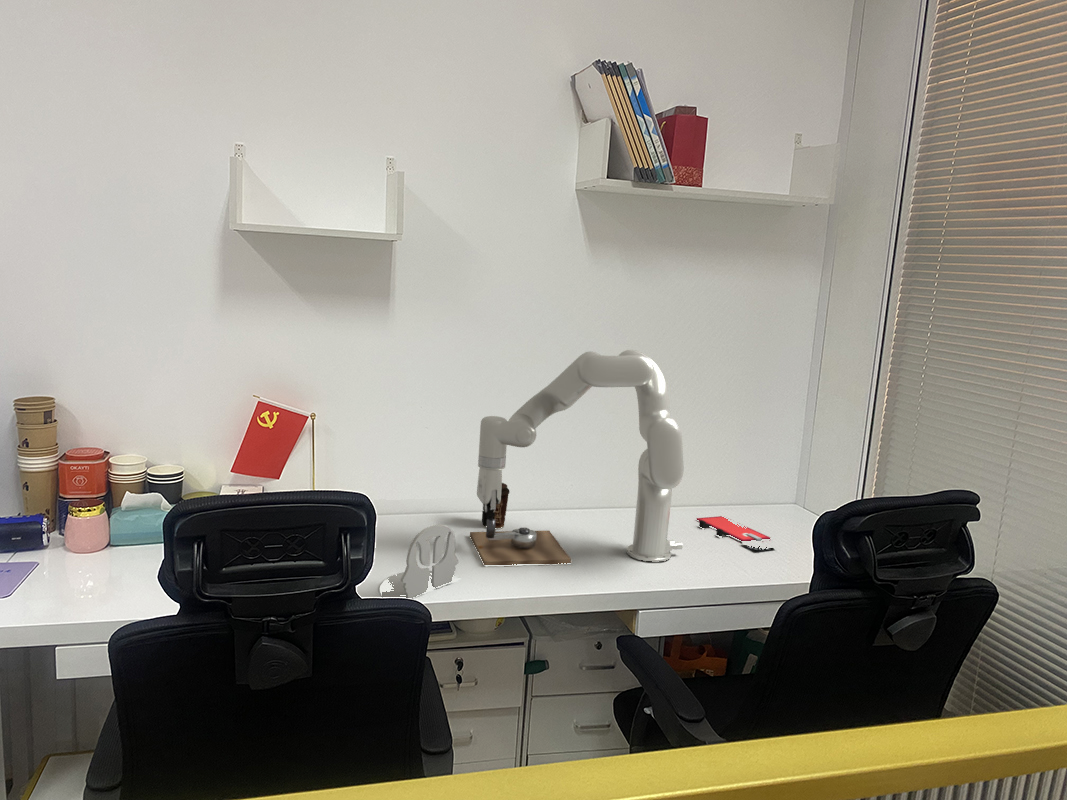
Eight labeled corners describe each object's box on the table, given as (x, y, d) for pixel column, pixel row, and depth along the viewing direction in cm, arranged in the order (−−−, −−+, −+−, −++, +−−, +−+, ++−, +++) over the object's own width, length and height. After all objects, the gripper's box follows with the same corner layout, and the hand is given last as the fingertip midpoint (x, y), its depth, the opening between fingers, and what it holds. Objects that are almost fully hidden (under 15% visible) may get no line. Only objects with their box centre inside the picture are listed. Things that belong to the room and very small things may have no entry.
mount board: (548, 535, 239) (549, 528, 239) (570, 564, 217) (571, 556, 217) (469, 536, 233) (470, 529, 233) (484, 567, 211) (484, 559, 211)
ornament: (396, 605, 185) (399, 537, 182) (359, 588, 193) (361, 522, 190) (462, 580, 202) (465, 517, 199) (425, 565, 210) (428, 504, 207)
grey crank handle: (530, 537, 229) (532, 512, 227) (539, 546, 222) (541, 520, 221) (481, 541, 223) (483, 515, 222) (489, 550, 217) (491, 523, 216)
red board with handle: (750, 554, 236) (787, 550, 243) (751, 545, 235) (788, 541, 242) (686, 523, 262) (722, 520, 269) (687, 514, 262) (723, 512, 268)
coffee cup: (475, 521, 247) (478, 481, 244) (500, 519, 250) (503, 479, 248) (486, 531, 239) (488, 489, 237) (511, 529, 242) (514, 487, 240)
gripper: (473, 454, 226) (469, 516, 229) (484, 468, 212) (480, 534, 215) (498, 454, 228) (494, 516, 231) (511, 468, 214) (507, 533, 217)
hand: (487, 524), depth 223 cm, fingers closed
